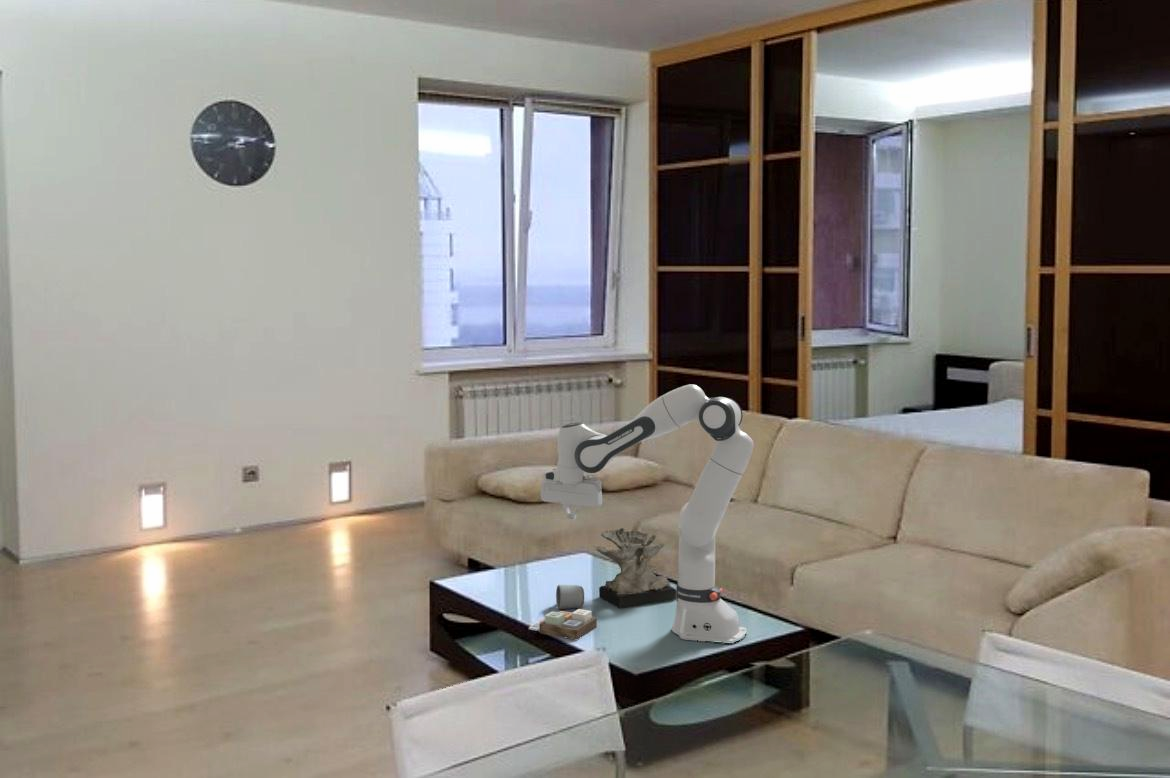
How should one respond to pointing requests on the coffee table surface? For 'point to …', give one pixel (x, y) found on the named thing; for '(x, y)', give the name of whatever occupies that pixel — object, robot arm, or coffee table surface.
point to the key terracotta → (567, 615)
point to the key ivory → (582, 615)
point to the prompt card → (536, 625)
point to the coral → (634, 571)
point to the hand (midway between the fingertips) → (571, 518)
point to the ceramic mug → (569, 596)
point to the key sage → (555, 618)
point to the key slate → (572, 624)
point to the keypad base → (568, 629)
